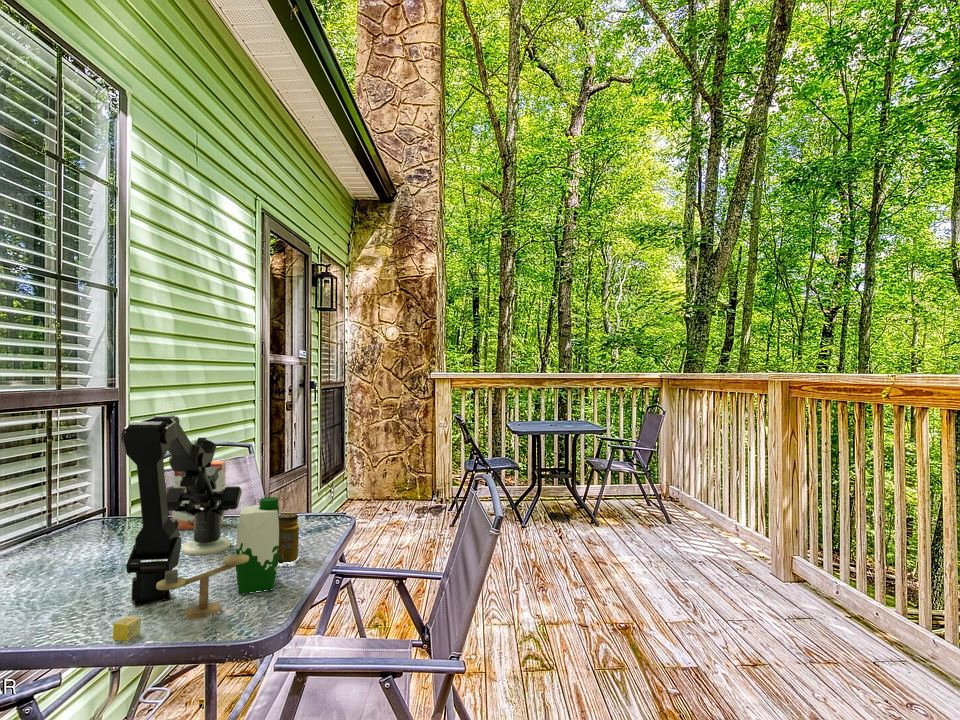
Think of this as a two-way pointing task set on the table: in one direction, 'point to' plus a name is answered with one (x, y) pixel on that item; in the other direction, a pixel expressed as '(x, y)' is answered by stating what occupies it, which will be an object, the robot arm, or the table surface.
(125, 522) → the table surface
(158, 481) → the robot arm
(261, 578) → the milk carton
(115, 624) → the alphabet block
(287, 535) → the condiment
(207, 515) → the supplement bottle
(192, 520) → the cracker box
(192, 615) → the balance
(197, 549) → the dish
